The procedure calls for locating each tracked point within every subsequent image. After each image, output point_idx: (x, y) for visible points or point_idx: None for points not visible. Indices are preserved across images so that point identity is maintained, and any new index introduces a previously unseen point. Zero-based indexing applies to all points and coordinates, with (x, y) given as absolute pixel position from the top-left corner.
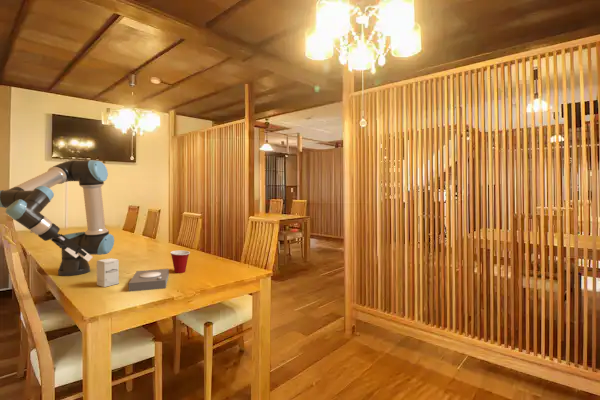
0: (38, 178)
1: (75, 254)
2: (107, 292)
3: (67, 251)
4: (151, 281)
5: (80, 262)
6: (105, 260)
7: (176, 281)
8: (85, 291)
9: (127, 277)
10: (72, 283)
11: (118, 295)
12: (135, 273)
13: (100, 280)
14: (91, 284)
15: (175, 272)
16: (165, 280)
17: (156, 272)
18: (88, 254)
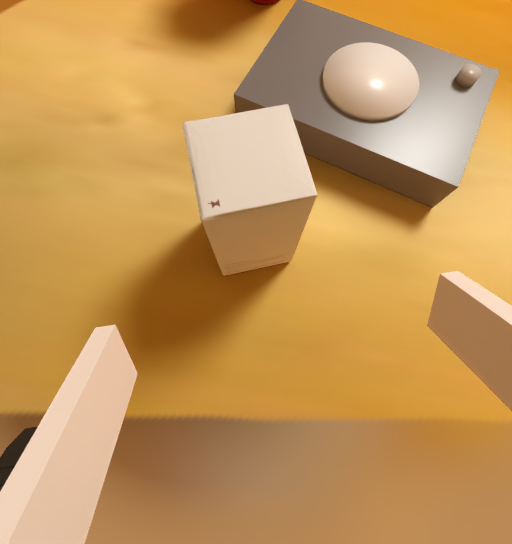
0: None
1: (119, 385)
2: (388, 274)
3: (86, 525)
4: (483, 113)
5: None
6: (264, 174)
7: None
8: (301, 343)
9: (185, 144)
10: None
11: (466, 253)
12: None
13: (260, 260)
14: (186, 291)
15: (265, 2)
16: (498, 72)
17: (351, 50)
18: (507, 312)
